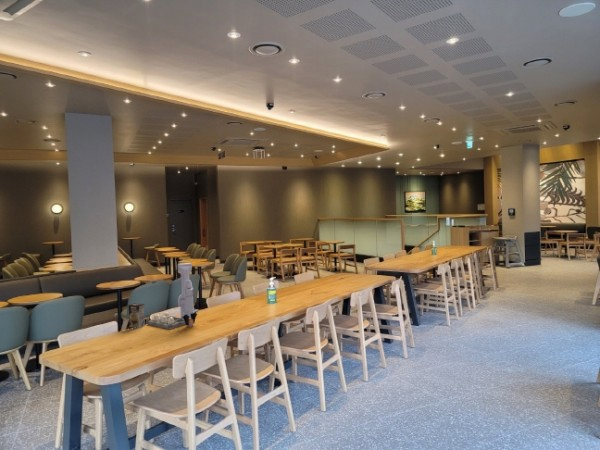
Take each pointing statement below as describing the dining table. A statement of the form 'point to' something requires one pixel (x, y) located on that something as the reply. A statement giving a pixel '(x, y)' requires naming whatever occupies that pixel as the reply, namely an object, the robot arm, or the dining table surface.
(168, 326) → the egg tray
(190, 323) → the terracotta egg
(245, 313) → the dining table surface
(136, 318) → the coffee box
